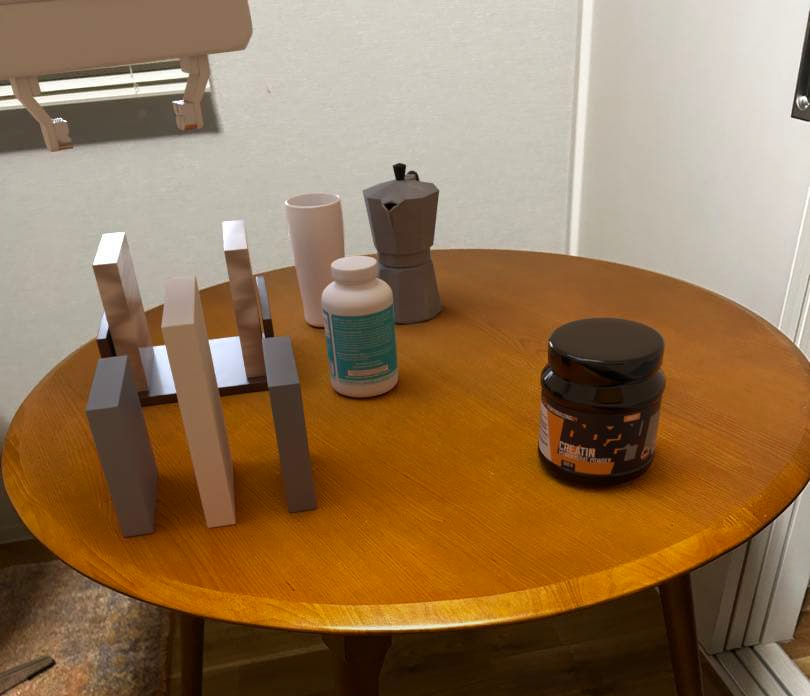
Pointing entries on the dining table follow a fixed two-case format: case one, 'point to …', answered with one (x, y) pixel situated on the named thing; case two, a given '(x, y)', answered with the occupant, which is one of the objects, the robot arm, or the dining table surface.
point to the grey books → (132, 452)
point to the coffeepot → (405, 242)
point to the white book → (199, 398)
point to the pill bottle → (360, 329)
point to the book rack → (150, 366)
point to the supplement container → (601, 401)
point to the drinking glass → (315, 246)
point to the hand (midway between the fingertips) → (127, 138)
